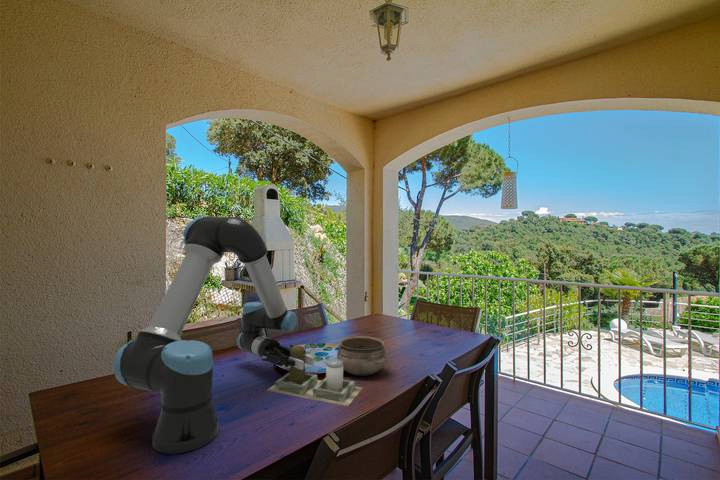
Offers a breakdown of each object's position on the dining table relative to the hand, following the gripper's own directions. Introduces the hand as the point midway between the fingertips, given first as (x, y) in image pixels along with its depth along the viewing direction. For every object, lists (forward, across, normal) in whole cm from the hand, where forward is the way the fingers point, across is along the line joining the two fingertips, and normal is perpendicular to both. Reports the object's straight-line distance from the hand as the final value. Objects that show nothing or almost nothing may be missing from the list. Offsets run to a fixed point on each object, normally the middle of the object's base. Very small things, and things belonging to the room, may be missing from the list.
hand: (308, 363), depth 113 cm
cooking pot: (+3, -25, -10) cm, 27 cm away
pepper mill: (-5, 0, -7) cm, 9 cm away
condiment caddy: (+1, -2, -10) cm, 10 cm away
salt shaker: (+8, -5, -9) cm, 13 cm away
